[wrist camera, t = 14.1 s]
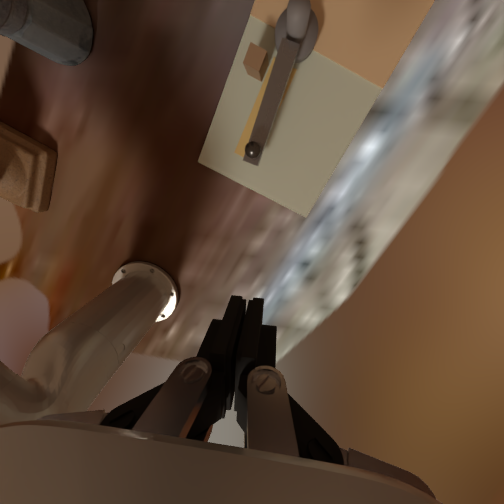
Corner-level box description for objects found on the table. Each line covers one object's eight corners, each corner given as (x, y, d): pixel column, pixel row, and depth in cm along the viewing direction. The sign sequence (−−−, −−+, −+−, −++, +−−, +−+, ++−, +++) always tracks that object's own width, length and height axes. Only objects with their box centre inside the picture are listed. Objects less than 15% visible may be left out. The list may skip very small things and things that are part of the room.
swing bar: (282, 43, 27) (282, 27, 24) (298, 50, 27) (301, 35, 24) (244, 160, 32) (239, 160, 28) (258, 165, 32) (255, 166, 29)
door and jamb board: (305, 216, 37) (311, 229, 30) (199, 161, 36) (179, 162, 29) (479, -80, 24) (558, -176, 17) (322, -177, 23) (339, -321, 16)
